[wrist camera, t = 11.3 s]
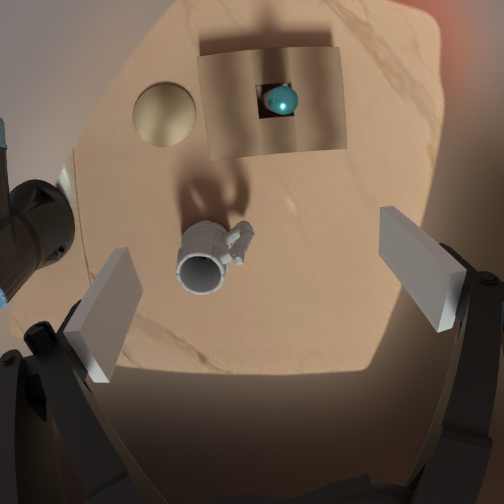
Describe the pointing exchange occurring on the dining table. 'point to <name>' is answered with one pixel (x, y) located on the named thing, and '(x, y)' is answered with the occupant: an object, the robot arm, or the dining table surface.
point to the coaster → (164, 115)
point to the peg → (280, 100)
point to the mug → (210, 254)
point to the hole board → (273, 127)
